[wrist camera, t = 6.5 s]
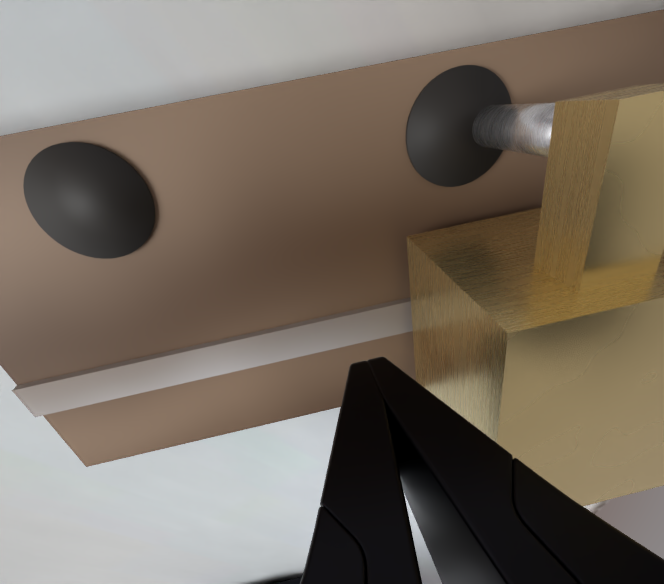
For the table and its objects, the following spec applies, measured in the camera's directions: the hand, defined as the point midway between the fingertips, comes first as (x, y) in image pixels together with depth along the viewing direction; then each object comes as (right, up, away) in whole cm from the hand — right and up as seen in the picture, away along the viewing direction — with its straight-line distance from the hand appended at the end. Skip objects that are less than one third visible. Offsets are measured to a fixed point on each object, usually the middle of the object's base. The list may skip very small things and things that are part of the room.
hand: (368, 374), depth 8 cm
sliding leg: (+3, +3, +1) cm, 4 cm away
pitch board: (+2, +4, +2) cm, 5 cm away
